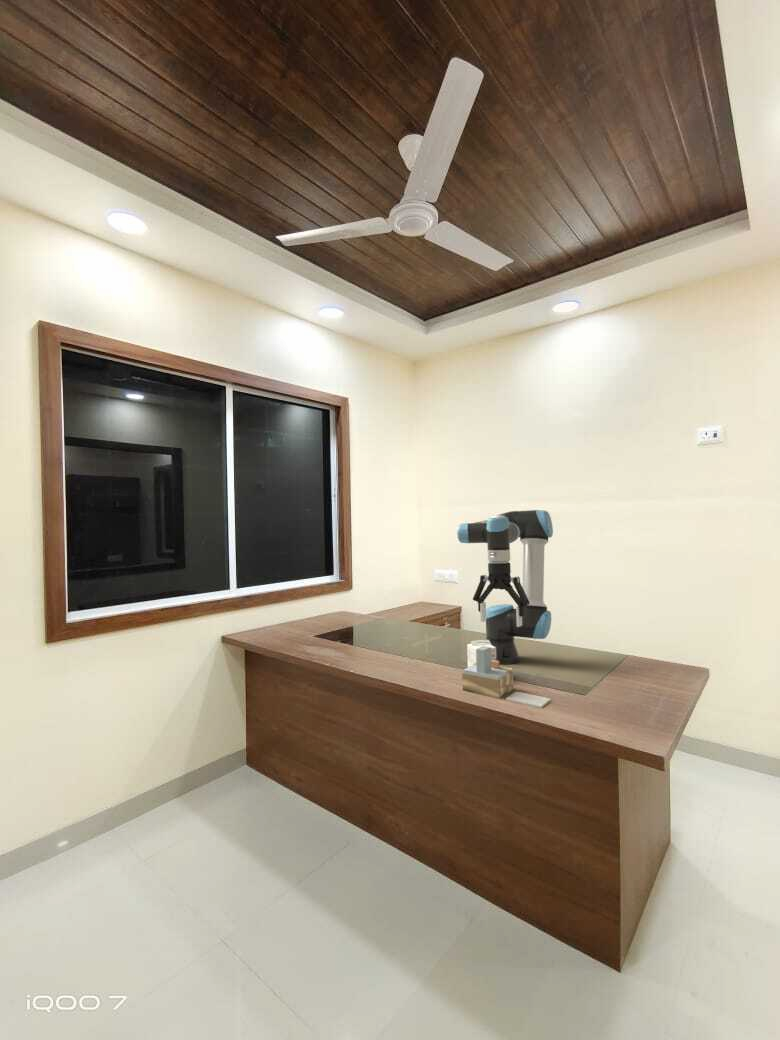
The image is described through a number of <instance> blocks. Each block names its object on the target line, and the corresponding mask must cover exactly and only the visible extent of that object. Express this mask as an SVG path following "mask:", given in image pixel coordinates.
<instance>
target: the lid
mask: <svg viewBox="0 0 780 1040" xmlns="http://www.w3.org/2000/svg"><path fill="white" fill-rule="evenodd" d="M476 663H477V665H472V666H470V667H468V666H467V667H466V668H464V669H463V672H462V673H466V674H471V675H476V676H481V677H485V678H490V679H495V680H499V679H501V678H503V677H504V676H506V675H508V671H505V670H500V669H497V668H493V667H491V647H487V646H482V647H480V648H477V649H476Z"/></svg>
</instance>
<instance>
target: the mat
mask: <svg viewBox="0 0 780 1040" xmlns="http://www.w3.org/2000/svg"><path fill="white" fill-rule="evenodd" d="M505 700H506V701H509V702H513V703H516V704H517V703H518V704H523V705H526V706H530V707H535V708H539V709H542V708H543V707H545V706H546V705H547V704H549V702H551V698H549V697H544V696H542V695H541V696H540V695H535V694H530V693H526V692H521V691H516V690H515V692H513V693H511V694H510V695H509V696H507V697H505Z"/></svg>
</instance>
